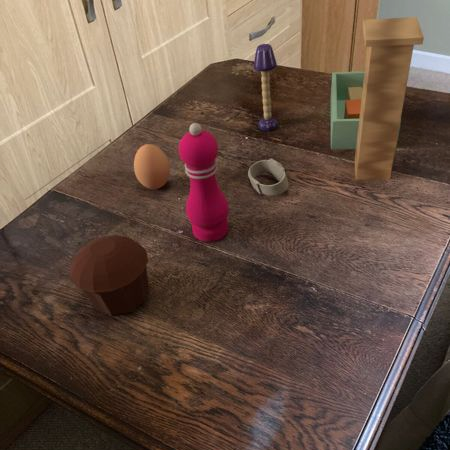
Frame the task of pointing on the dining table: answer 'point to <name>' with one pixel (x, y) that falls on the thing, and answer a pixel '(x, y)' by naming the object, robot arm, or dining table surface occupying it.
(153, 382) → the dining table surface
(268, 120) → the toy lamp
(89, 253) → the muffin
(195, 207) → the pepper mill
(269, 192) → the grey band loop
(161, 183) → the egg
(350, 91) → the mallet
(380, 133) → the stand
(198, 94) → the dining table surface
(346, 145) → the bin
